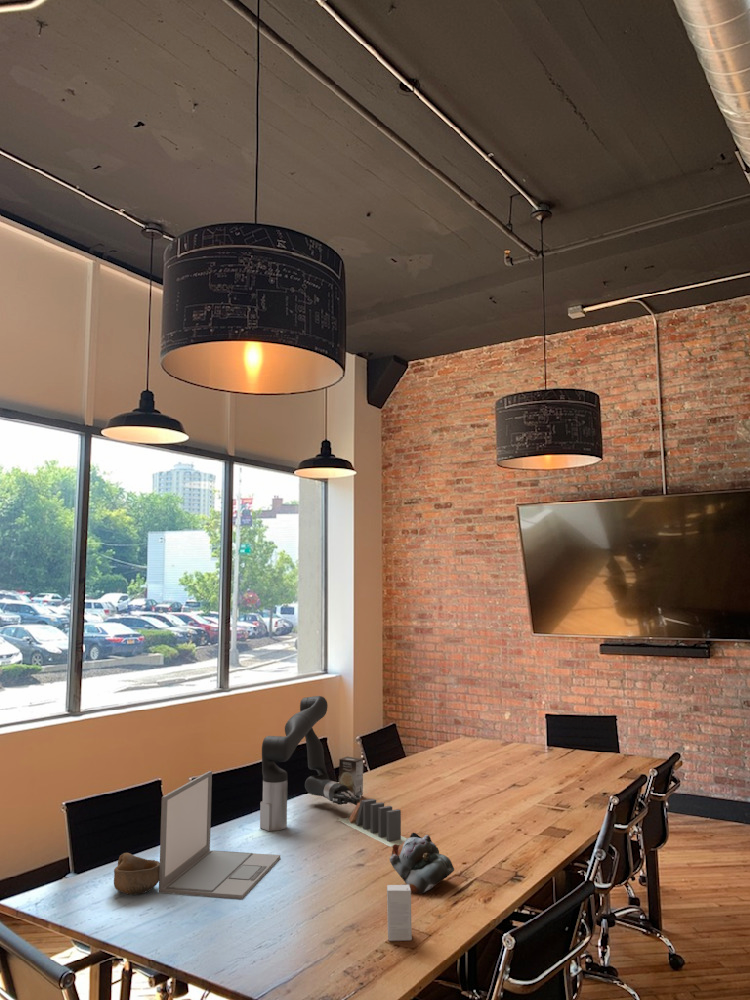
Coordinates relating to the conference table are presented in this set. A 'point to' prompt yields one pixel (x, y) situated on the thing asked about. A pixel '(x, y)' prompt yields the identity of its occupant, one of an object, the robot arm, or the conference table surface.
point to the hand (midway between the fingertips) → (358, 802)
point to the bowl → (135, 874)
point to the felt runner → (368, 832)
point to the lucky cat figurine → (420, 863)
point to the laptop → (202, 849)
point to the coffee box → (351, 773)
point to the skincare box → (399, 912)
